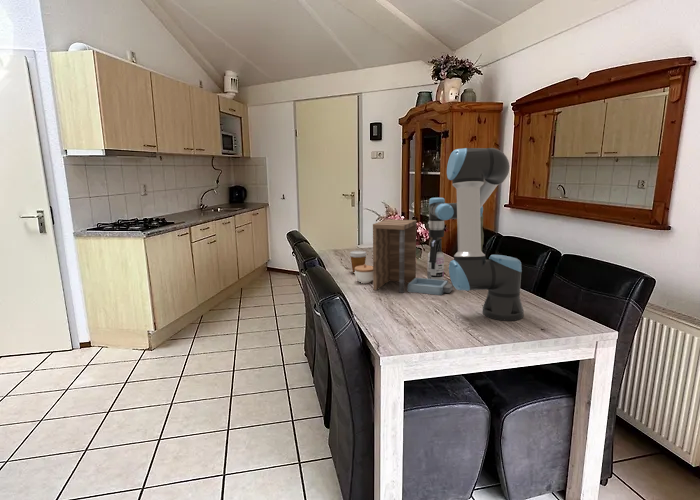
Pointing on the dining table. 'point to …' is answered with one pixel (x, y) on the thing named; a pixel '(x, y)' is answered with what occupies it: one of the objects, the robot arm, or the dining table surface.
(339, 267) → the dining table surface
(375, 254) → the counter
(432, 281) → the tray
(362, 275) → the lidded jar
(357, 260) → the disposable coffee cup
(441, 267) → the supplement can
